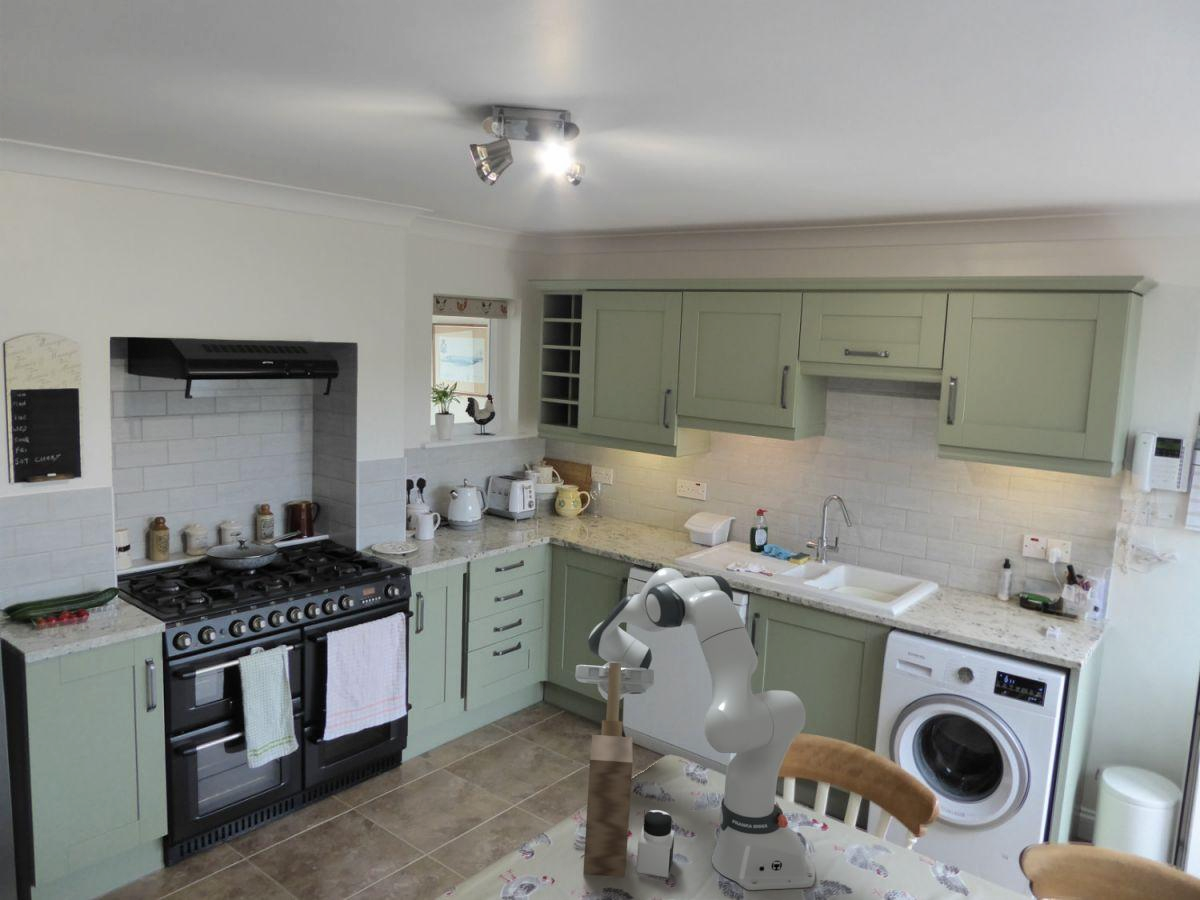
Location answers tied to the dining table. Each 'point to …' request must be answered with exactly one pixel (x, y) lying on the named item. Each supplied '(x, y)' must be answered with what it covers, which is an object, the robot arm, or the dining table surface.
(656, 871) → the medicine bottle
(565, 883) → the dining table surface
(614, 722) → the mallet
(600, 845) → the stand
